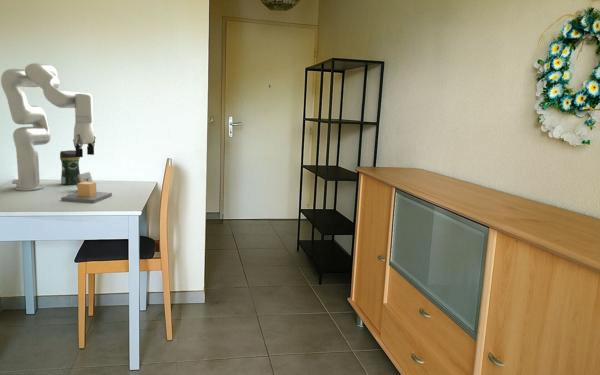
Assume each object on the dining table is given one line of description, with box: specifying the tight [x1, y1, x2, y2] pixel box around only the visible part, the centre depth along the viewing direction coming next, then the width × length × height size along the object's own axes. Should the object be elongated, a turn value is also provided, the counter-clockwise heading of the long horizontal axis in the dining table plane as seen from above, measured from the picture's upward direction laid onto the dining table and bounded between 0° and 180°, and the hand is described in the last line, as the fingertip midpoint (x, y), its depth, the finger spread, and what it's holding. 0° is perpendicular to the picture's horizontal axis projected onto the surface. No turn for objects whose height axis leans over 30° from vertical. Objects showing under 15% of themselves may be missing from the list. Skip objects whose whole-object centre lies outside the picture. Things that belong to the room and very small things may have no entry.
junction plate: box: [60, 191, 113, 204], centre depth 226 cm, size 16×17×6 cm
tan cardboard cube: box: [76, 181, 97, 197], centre depth 226 cm, size 6×6×6 cm
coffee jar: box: [59, 149, 81, 186], centre depth 257 cm, size 10×8×19 cm
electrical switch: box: [74, 171, 94, 189], centre depth 243 cm, size 9×5×9 cm, turn 171°
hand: (85, 155), depth 224 cm, fingers open, 9 cm apart
